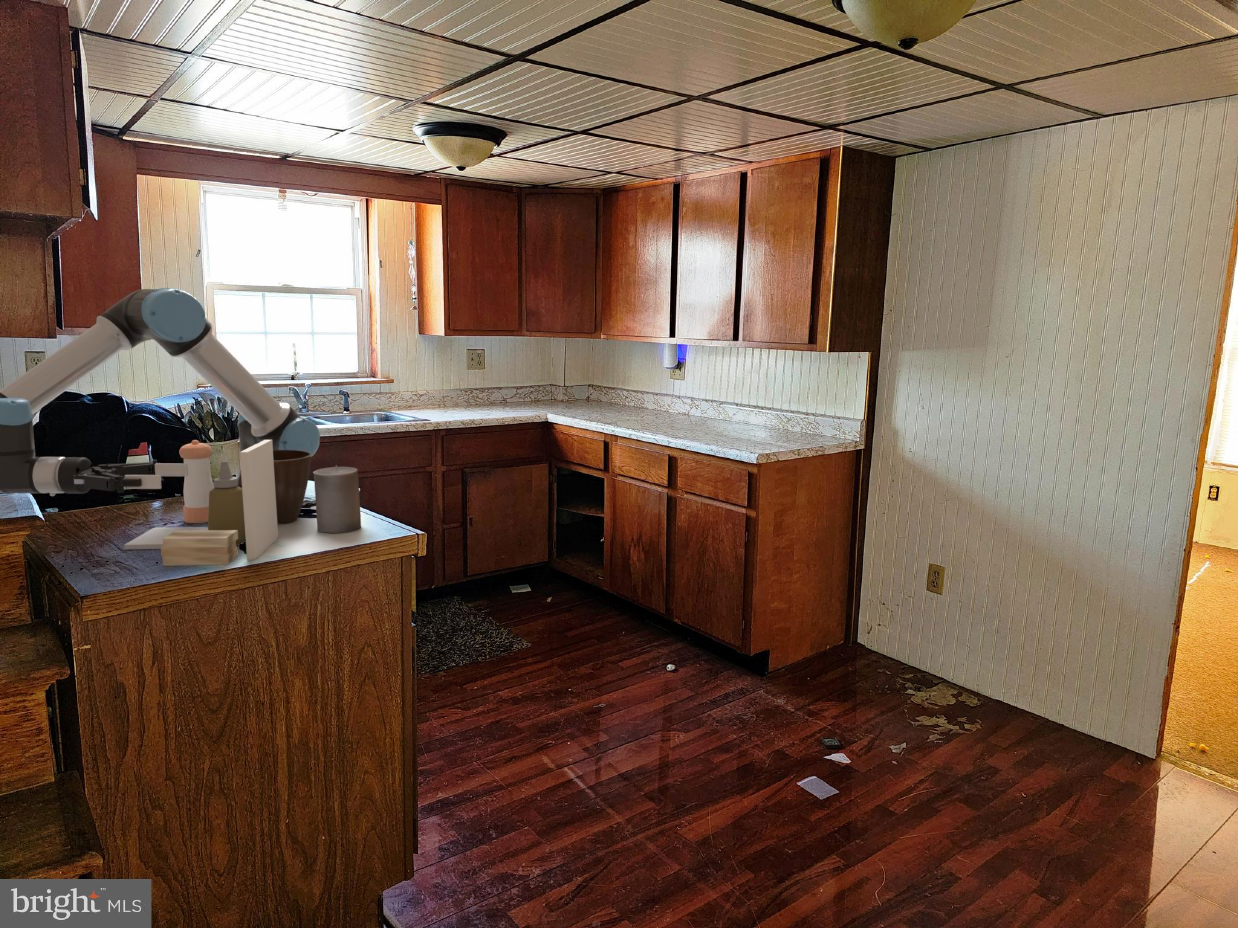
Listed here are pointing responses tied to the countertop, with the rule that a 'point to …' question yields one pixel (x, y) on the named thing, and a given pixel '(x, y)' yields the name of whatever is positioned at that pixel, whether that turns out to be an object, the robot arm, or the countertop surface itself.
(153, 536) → the grey mat
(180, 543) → the offcut stack
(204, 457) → the pepper shaker
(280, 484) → the plant pot
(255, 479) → the panel
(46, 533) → the countertop surface
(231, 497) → the squeeze bottle
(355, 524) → the pillar candle
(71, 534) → the countertop surface
